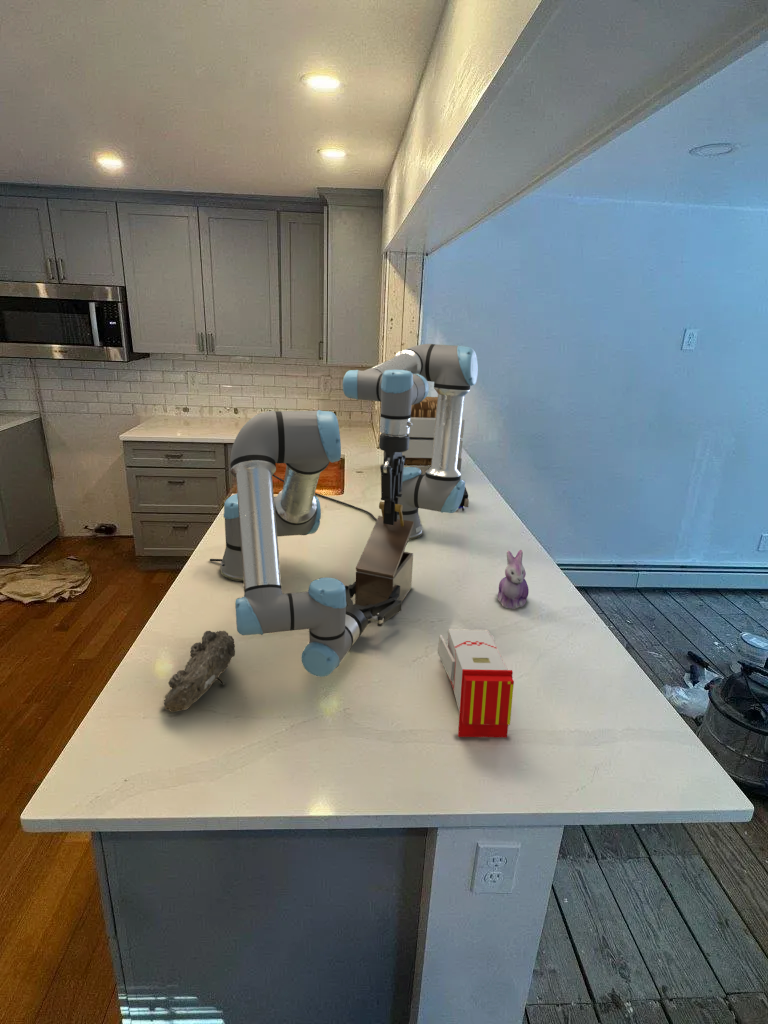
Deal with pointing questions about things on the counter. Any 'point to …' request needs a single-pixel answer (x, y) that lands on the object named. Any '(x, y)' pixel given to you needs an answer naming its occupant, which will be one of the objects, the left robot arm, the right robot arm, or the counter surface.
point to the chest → (384, 583)
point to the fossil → (200, 670)
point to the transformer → (424, 434)
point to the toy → (478, 682)
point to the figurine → (513, 583)
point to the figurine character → (464, 500)
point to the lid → (385, 545)
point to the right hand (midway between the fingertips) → (390, 522)
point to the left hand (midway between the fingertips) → (379, 586)
